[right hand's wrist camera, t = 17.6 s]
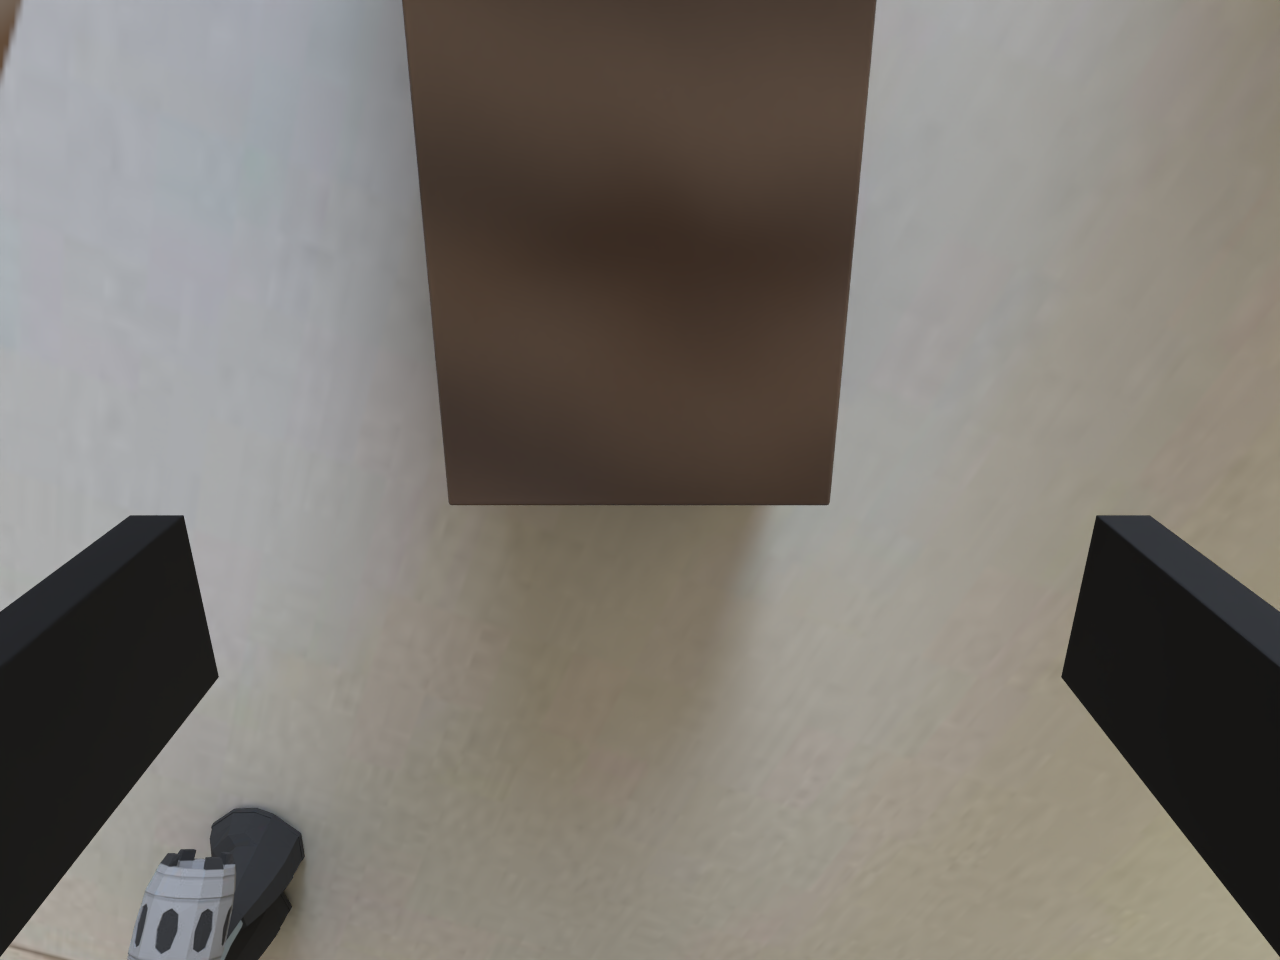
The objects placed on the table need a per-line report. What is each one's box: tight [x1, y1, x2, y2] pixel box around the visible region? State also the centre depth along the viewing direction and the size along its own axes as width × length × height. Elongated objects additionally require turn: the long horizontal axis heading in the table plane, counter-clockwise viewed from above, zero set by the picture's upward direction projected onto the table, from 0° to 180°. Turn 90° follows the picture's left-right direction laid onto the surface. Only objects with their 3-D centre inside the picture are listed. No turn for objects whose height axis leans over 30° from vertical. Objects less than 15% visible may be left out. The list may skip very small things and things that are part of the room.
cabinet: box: [402, 0, 876, 505], centre depth 26 cm, size 17×11×8 cm
